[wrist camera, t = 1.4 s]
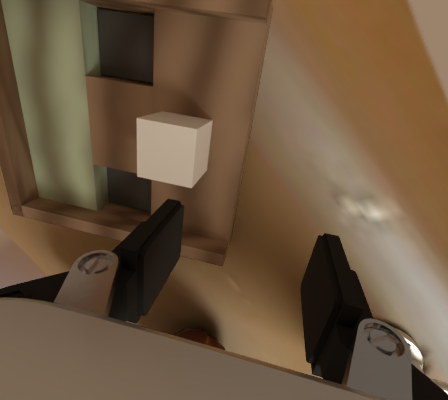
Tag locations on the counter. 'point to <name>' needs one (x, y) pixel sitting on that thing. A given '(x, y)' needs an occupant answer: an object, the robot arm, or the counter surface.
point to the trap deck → (126, 109)
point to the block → (173, 148)
